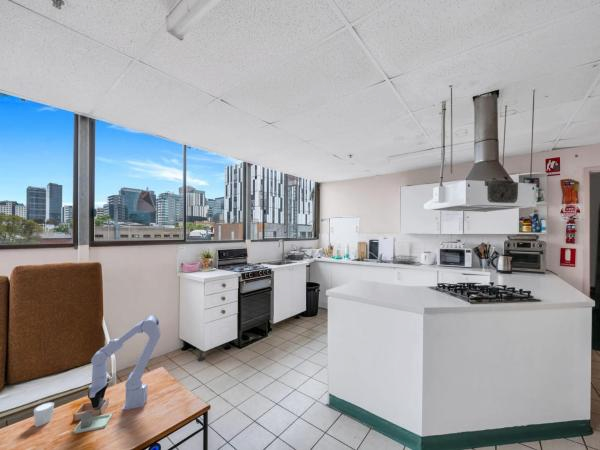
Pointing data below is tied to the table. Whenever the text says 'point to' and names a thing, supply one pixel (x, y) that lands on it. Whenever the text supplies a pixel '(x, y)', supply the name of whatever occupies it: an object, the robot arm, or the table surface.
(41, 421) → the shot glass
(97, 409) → the pebble
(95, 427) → the parts tray
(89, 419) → the pebble
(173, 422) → the table surface
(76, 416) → the dish
